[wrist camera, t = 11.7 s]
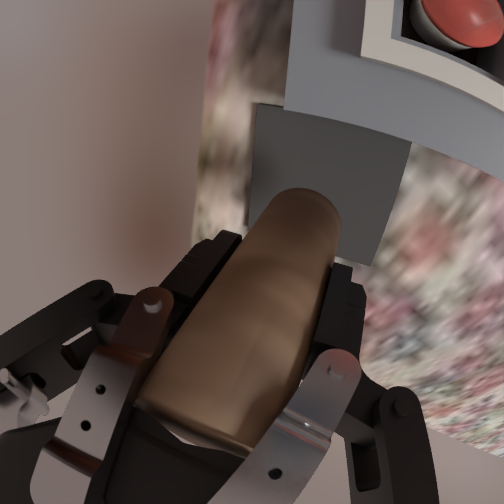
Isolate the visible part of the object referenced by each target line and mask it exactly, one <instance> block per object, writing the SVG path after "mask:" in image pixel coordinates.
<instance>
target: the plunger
mask: <svg viewBox="0 0 504 504" xmlns="http://www.w3.org/2000/svg"><path fill="white" fill-rule="evenodd" d="M409 16H410V21H411V23H412V26H413V27H414V29H415V31H416V32H417V34H418V35H419V36H420V37H421V38H422V39H423V40H424V41H425V42H426V43H428V44H429V45H431V46H432V47H434V48H436V49H439V50H442V51H446V52H455V51H460V50H464V49H469V48H480V47H487V46H491V45H493V44H495V43H497V42H498V41H499V40H500V39H501V37H502V35H503V32H504V17H503V13H502V10H501V8H500V5H499V3H498V2H497V0H413V1H412V2H411V4H410V8H409Z"/></svg>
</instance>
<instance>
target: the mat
mask: <svg viewBox="0 0 504 504" xmlns="http://www.w3.org/2000/svg"><path fill="white" fill-rule="evenodd" d="M283 108H284V107H282V106H276V105H269V104H261V103H260V104H257V112H256V125H255V138H254V151H253V164H252V178H251V191H250V205H249V219H248V231H249V230H250V229H251V228H252V226H253V225H254V223H255V222H256V221H257V219H258V218H259V217H260V215H261V214H262V212H263V211H264V210H265V208H266V207H267V206H268V204H269V203H270V201H271V200H272V199H273V198H274V197H275V196H276V195H277V194H279V193H280V192H282V191H284V190H287V189H291V188H307V189H311V190H314V191H316V192H318V193H320V194H322V195H323V196H325V197H326V198H327V199H329V200H330V201H331V203H332V204H333V205H334V206H335V208H336V210H337V211H338V214H339V216H340V220H341V232H340V237H339V241H338V246H337V250H336V255H335V256H337V257H341V258H344V259H347V260H351V261H354V262H357V263H361V264H364V265H367V266H371V263H372V261H373V258H374V256H375V253H376V251H377V248H378V246H379V243H380V240H381V238H382V235H383V233H384V230H385V227H386V224H387V222H388V219H389V216H390V213H391V210H392V207H393V204H394V201H395V198H396V195H397V192H398V189H399V186H400V183H401V179H402V176H403V173H404V169H405V166H406V162H407V159H408V155H409V152H410V148H411V144H412V142H411V141H408V140H405V139H402V138H399V137H396V136H393V135H390V134H386V133H383V132H380V131H376V130H373V129H369V128H366V127H362V126H358V125H355V124H351V123H347V122H343V121H338V120H334V119H330V118H325V117H320V116H316V115H311V114H306V113H300V112H295V111H289V110H283Z"/></svg>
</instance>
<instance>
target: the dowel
mask: <svg viewBox="0 0 504 504" xmlns="http://www.w3.org/2000/svg"><path fill="white" fill-rule="evenodd" d="M340 232H341V220H340V216H339V214H338V211H337V210H336V208H335V206H334V205H333V204H332V203H331V201H330V200H329V199H327V198H326V197H325V196H323V195H322V194H320V193H318V192H316V191H314V190H311V189H307V188H291V189H287V190H284V191H282V192H280V193H279V194H277V195H276V196H275V197H274V198H273V199H272V200H271V201H270V203H269V204H268V206H267V207H266V208H265V210H264V211H263V212H262V214H261V215H260V217H259V218H258V219H257V221H256V222H255V223H254V225H253V226H252V228H251V229H250V230H249V232H248V233H247V235H246V236H245V237H244V239H243V240H242V241H241V243H240V244H239V246H238V247H237V248H236V250H235V251H234V253H233V254H232V255H231V257H230V258H229V260H228V261H227V262H226V264H225V265H224V267H223V268H222V269H221V271H220V272H219V274H218V275H217V276H216V278H215V279H214V281H213V282H212V284H211V285H210V286H209V288H208V289H207V291H206V292H205V293H204V295H203V296H202V298H201V299H200V300H199V302H198V303H197V305H196V306H195V308H194V309H193V310H192V312H191V313H190V315H189V316H188V318H187V319H186V320H185V322H184V323H183V325H182V326H181V328H180V329H179V330H178V332H177V333H176V335H175V336H174V338H173V339H172V341H171V342H170V343H169V345H168V346H167V348H166V349H165V351H164V352H163V354H162V355H161V356H160V358H159V359H158V361H157V362H156V364H155V365H154V367H153V368H152V370H151V371H150V373H149V375H148V376H147V378H146V380H145V382H144V383H143V385H142V387H141V389H140V390H139V392H138V394H137V395H138V396H139V397H138V398H137V399H136V401H135V402H136V404H137V405H138V406H139V407H140V408H141V409H142V410H143V411H144V412H145V413H146V414H148V415H150V416H152V417H153V418H155V419H156V420H157V421H158V422H160V423H161V424H162V425H163V426H164V427H165V428H167V429H168V430H170V431H171V432H173V433H175V434H176V435H178V436H180V437H182V438H183V439H185V440H187V441H189V442H191V443H193V444H195V445H197V446H200V447H205V448H210V449H216V450H223V451H225V452H228V453H230V454H233V455H236V456H238V457H241V458H244V459H246V458H247V457H248V455H249V454H250V453H251V452H252V450H253V449H254V448H255V447H256V445H257V444H258V443H259V441H260V440H261V439H262V437H263V436H264V435H265V433H266V432H267V431H268V429H269V428H270V427H271V425H272V424H273V422H274V421H275V420H276V418H277V417H278V416H279V415H280V414H281V413H282V411H283V410H284V409H285V407H286V406H287V404H288V403H289V401H290V400H291V398H292V397H293V395H294V394H295V392H296V391H297V389H298V387H299V384H300V381H301V378H302V375H303V372H304V369H305V366H306V363H307V360H308V355H309V349H310V346H311V343H312V339H313V336H314V332H315V329H316V326H317V322H318V318H319V315H320V311H321V308H322V304H323V300H324V296H325V292H326V289H327V285H328V281H329V277H330V273H331V268H332V265H333V263H334V259H335V255H336V250H337V246H338V241H339V237H340Z"/></svg>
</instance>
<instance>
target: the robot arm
mask: <svg viewBox="0 0 504 504" xmlns="http://www.w3.org/2000/svg"><path fill="white" fill-rule="evenodd" d="M241 241H242V236H241V235H240V234H237V233H233V232H230V231H226V230H221V231H220V232H219V234H218V235H217V236H216V237H215V238H214V239H213V240H210V239H205V240H203V241H201V242H199V243H197V244H195V245H194V247H193V248H192V249H191V250H190V251H189V252H188V254H187V255H185V257H184V258H183V259H182V261H180V262H179V263H178V264H177V266H176V267H175V268H174V269H173V270H172V271H171V272H170V274H169V275H168V276H167V277H166V278H165V280H163V282H162V283H161V284H160V285H159V286H158V287H155V286H154V287H148V288H145V289H142V290H141V291H139V292H138V293H137V294H136V295H126V294H118V293H114V291H113V288H112V285H111V284H110V283H109V282H107V281H105V280H93V281H90V282H88V283H86V284H84V285H83V286H81V287H79V288H77V289H76V290H74V291H72V292H70V293H69V294H67V295H65V296H64V297H62V298H60V299H59V300H57V301H55V302H53V303H52V304H50V305H48V306H47V307H46V308H43V309H42V310H40V311H38V312H37V313H35V314H34V315H32V316H30V317H29V318H27V319H26V320H24V321H22V322H21V323H19V324H18V325H16V326H14V327H13V328H11V329H10V330H8V331H7V332H5V333H4V334H2V335H0V504H293V503H294V502H295V500H296V499H297V498H298V496H299V495H300V493H301V492H302V490H303V489H304V487H305V486H306V485H307V483H308V482H309V480H310V479H311V477H312V475H313V474H314V472H315V471H316V469H317V468H318V466H319V464H320V463H321V461H322V459H323V458H324V456H325V454H326V453H327V451H328V449H329V447H330V444H331V437H332V434H333V432H336V433H337V434H338V435H340V436H342V437H343V438H344V441H345V449H346V458H347V467H348V476H349V486H350V498H351V504H439V496H438V489H437V481H436V475H435V469H434V463H433V458H432V452H431V447H430V443H429V438H428V434H427V429H426V425H425V421H424V417H423V413H422V409H421V405H420V402H419V399H418V397H417V396H416V395H415V393H414V392H413V391H411V390H410V389H408V388H406V387H401V386H396V387H392V388H390V389H388V390H387V389H385V388H384V387H382V386H380V385H379V384H377V383H375V382H374V381H372V380H371V379H370V378H369V377H367V376H366V374H365V373H364V372H363V370H362V368H361V365H360V362H359V353H360V347H361V340H362V333H363V325H364V317H365V308H366V299H367V296H366V294H365V291H364V288H363V286H362V285H360V284H357V283H353V282H351V277H352V271H353V267H349V266H346V265H343V264H339V263H336V262H334V263H333V265H332V268H331V273H330V277H329V281H328V285H327V289H326V292H325V296H324V300H323V304H322V308H321V311H320V315H319V318H318V322H317V326H316V329H315V332H314V336H313V339H312V343H311V346H310V349H309V355H308V360H307V363H306V366H305V369H304V372H303V375H302V378H301V379H302V380H303V382H302V383H301V385H300V386H299V388H298V389H297V391H296V392H295V394H294V395H293V397H292V398H291V400H290V401H289V403H288V404H287V406H286V407H285V409H284V410H283V411H282V413H281V414H280V415H279V416H278V417H277V418H276V420H275V421H274V422H273V424H272V425H271V427H270V428H269V429H268V431H267V432H266V433H265V435H264V436H263V437H262V439H261V440H260V441H259V443H258V444H257V445H256V447H255V448H254V449H253V450H252V452H251V453H250V454H249V455H248V457H247V458H246V459H244V458H241V457H238V456H236V455H233V454H230V453H228V452H225V451H223V450H216V449H210V448H205V447H200V446H194V445H190V444H186V443H183V442H182V441H180V440H179V439H178V438H177V437H175V436H174V435H173V434H172V433H171V432H170V431H169V430H167V429H166V428H165V427H164V426H163V425H162V424H161V423H160V422H158V421H157V420H156V419H155V418H153V417H152V416H150V415H148V414H146V413H145V412H144V411H143V410H142V409H141V408H140V407H139V406H138V405H137V404H136V402H135V401H136V399H137V398H138V397H139V396H138V395H137V394H138V392H139V390H140V389H141V387H142V385H143V383H144V382H145V380H146V378H147V376H148V375H149V373H150V371H151V370H152V368H153V367H154V365H155V364H156V362H157V361H158V359H159V358H160V356H161V355H162V354H163V352H164V351H165V349H166V348H167V346H168V345H169V343H170V342H171V341H172V339H173V338H174V336H175V335H176V333H177V332H178V330H179V329H180V328H181V326H182V325H183V323H184V322H185V320H186V319H187V318H188V316H189V315H190V313H191V312H192V310H193V309H194V308H195V306H196V305H197V303H198V302H199V300H200V299H201V298H202V296H203V295H204V293H205V292H206V291H207V289H208V288H209V286H210V285H211V284H212V282H213V281H214V279H215V278H216V276H217V275H218V274H219V272H220V271H221V269H222V268H223V267H224V265H225V264H226V262H227V261H228V260H229V258H230V257H231V255H232V254H233V253H234V251H235V250H236V248H237V247H238V246H239V244H240V243H241ZM89 327H91V329H92V330H91V331H90V332H88V333H87V334H85V335H83V336H82V337H80V338H79V339H77V340H75V341H74V342H72V343H71V344H69V345H62V344H63V343H65V342H66V341H68V340H69V339H70V338H73V337H74V336H76V335H77V334H79V333H80V332H82V331H84V330H86V329H87V328H89ZM76 383H77V385H76V386H75V389H74V391H73V393H72V395H71V397H70V400H69V402H68V404H67V407H66V409H65V411H64V414H63V416H62V417H59V418H56V419H52V420H48V421H45V422H41V423H37V424H35V421H36V420H37V418H38V417H39V416H40V415H42V416H46V415H47V414H48V413H49V406H48V404H47V402H48V401H49V400H51V399H53V398H54V397H56V396H57V395H58V394H60V393H62V392H63V391H65V390H67V389H68V388H70V387H71V386H73V385H74V384H76Z"/></svg>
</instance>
